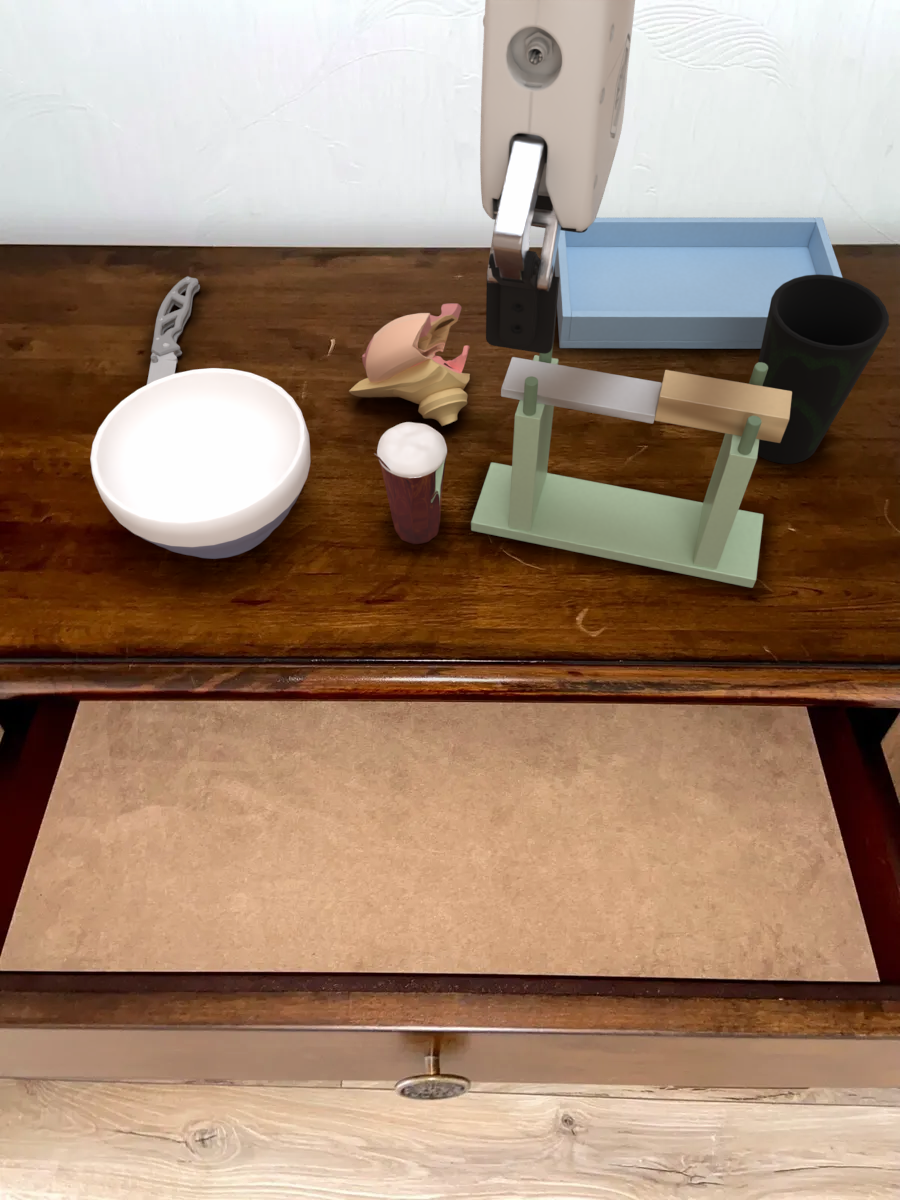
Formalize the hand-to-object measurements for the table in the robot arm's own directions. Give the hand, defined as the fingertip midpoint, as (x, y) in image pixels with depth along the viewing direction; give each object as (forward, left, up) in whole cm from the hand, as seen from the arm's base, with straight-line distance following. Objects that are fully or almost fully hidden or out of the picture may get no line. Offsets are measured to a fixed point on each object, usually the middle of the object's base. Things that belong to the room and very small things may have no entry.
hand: (540, 283), depth 48 cm
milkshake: (+8, 0, -23) cm, 24 cm away
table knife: (-6, -4, -11) cm, 13 cm away
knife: (+33, -13, -23) cm, 42 cm away
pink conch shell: (+12, -13, -23) cm, 29 cm away
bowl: (+22, +2, -23) cm, 32 cm away
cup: (-17, -16, -23) cm, 33 cm away
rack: (-6, -4, -23) cm, 24 cm away
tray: (-8, -31, -23) cm, 39 cm away
